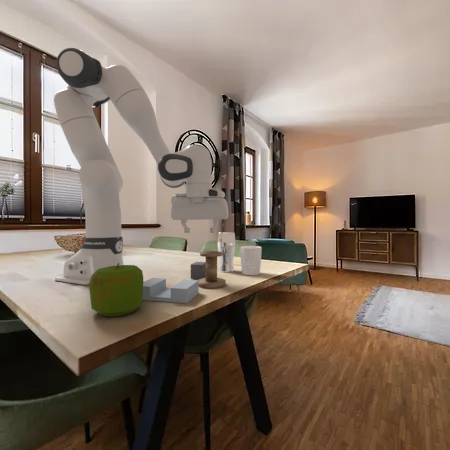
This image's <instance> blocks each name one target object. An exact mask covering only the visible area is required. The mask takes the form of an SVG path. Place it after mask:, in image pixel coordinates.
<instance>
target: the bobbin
mask: <svg viewBox="0 0 450 450" xmlns="http://www.w3.org/2000/svg"><path fill="white" fill-rule="evenodd" d="M222 255H223V252H219V251H218V250H217V251H216V250H215V251H214V250H209V251H206V250H205V251H200V253H199V256H200V257H205V262H206V277H205V278H202V279H197V280H198V288H201V289H208V290H209V289H210V290H211V289H219V288H224V287H226V284H227V282H226V279H225V278H221V277H218V258H219V256H222Z"/></svg>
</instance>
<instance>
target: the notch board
mask: <svg viewBox="0 0 450 450" xmlns="http://www.w3.org/2000/svg"><path fill="white" fill-rule="evenodd" d="M198 280H199V279H183V280H181V281H179V282H178V283H176V284H174V285H173V286H171V287H169V286H168V287H167V278H164V277H163V278H162V277H151V278H149V279H147V280H146V279H145V280H143V297H142V301H153V302H155V301H156V302H166V303H167V302H168V303H176V304H177V303H179V304H188V303H189V302H190V301H192V299H194V298H195V297H196V296H197V295H198V294H199V292H200V290H199V289H200V287H198Z"/></svg>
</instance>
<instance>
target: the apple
mask: <svg viewBox="0 0 450 450" xmlns="http://www.w3.org/2000/svg"><path fill="white" fill-rule="evenodd" d="M143 282H144V273H143V270H142V269H141V268H140V267H139V266H137V265H135V264H124V265H119V263H118V265H117V266H109V267H104V268H100V269H97V270H96V271H95V272H94V273H93V275H92V276H91V279H90V282H89V284H88V288H89V297H90V304H91V305H90V306H91V309H92V310H93V311H94V312H96V313H98V314H100V315H101V316H105V317H112V318H114V317H121V316H126V315H128V314H132V313H133V312H134V311H135V310H137V309H138V308H140V306H141V305H142V304H143V300H142V297H143Z"/></svg>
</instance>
